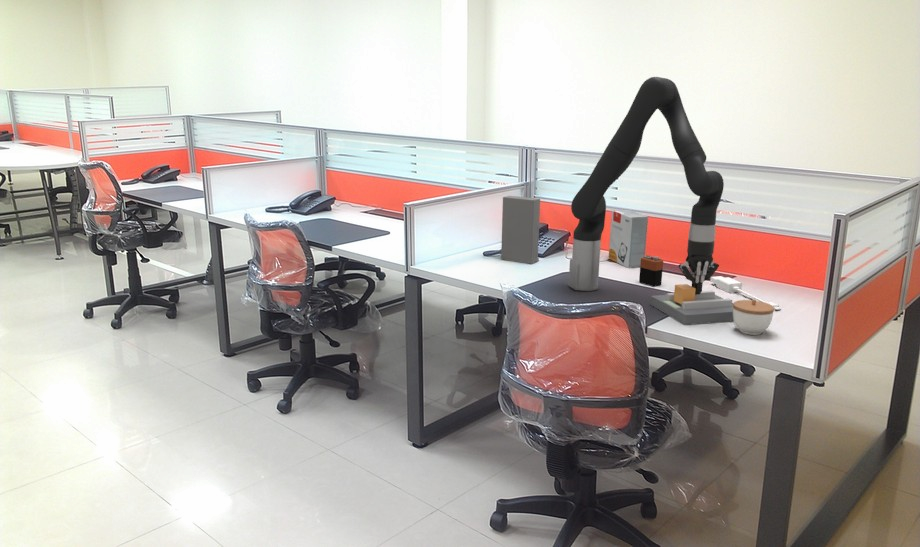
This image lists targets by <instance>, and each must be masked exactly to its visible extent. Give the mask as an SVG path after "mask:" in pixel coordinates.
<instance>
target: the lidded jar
mask: <svg viewBox="0 0 920 547" xmlns="http://www.w3.org/2000/svg"><path fill="white" fill-rule="evenodd" d="M732 303H733V320H734V321H733V323H734V325H735V326H736V327H737V329H738V331H739V332H740V333H742V334H746V335H751V336H758V335H762V333H764V332H765V331H766V330H767V329H768V328H769V327H770V325H771V323H772V322H773V321H772V320H773V316H774V311H775V310H774V307H773V306H772V305H770V304H767V303H764V302H760V301H758V300H756V299H754V298H752V300H751V299H740V300H736V301H734V302H732Z"/></svg>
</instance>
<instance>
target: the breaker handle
mask: <svg viewBox="0 0 920 547" xmlns="http://www.w3.org/2000/svg"><path fill="white" fill-rule="evenodd" d="M695 291H696V288H694V287H692V285H690V284H687V283H685V284H684V283H683V284H682V283H681V284H675V285H674V292H673V293H674V301H675V302H677V303H679V304H681V305H682V302H686V301H695Z"/></svg>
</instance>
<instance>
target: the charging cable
mask: <svg viewBox="0 0 920 547" xmlns="http://www.w3.org/2000/svg"><path fill="white" fill-rule="evenodd" d="M709 280H710V283H712V284H715V285H716V286H715V287H716V288H718V289H720V290H722V291H724V292H726V293H727V294H728V293H729V294H731V293H741V294H744V295H745V296H748V297H751V298H752V299H755V300H756V301H760V302H764V303H767V304H770V305H772V306H773V307H774V311H775V310H776V311H780V310H782V308H781V307H780V305H779V304H777V303H775V302H772V301H771V302H770V301H765V300H763V299H761V298H759V297H756V296H755V295H754V294H751V293H748V292H747V291H745V290H742V289H743V288H742V287H743V283H742V282H740V281H738V280H736V279H734V278H731V277H724V276H722V275H720V276H711V278H710V279H709Z"/></svg>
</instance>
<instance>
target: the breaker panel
mask: <svg viewBox="0 0 920 547" xmlns="http://www.w3.org/2000/svg"><path fill="white" fill-rule="evenodd" d="M733 303H734V302H733V299H731V298H724V297H721V296H719V295H717V294H716V292H715V291H714V290H702V292H701V293H700V294H697V295H695V301H686V302H682V305H681V304H679V303H677V302H675V301H674V292H670V293H669V292H667V293H666V294H662V295H661V294H660V295H659V294H658V295H651V296H650V306H651V305H652V306H651V307H653V306H654V307H653V308H655V309H656V310H658V309H659V311H660V312H661V313H663V312H664V313H663V314H665V313H666V314H665V315H667V316H669V317H670V318H672V319H673V320H675V321H677V322H679V323H681V324H682V325H684V326H688V325H699V324H701V325H702V324H713V323H728V322H734V320H733Z"/></svg>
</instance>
